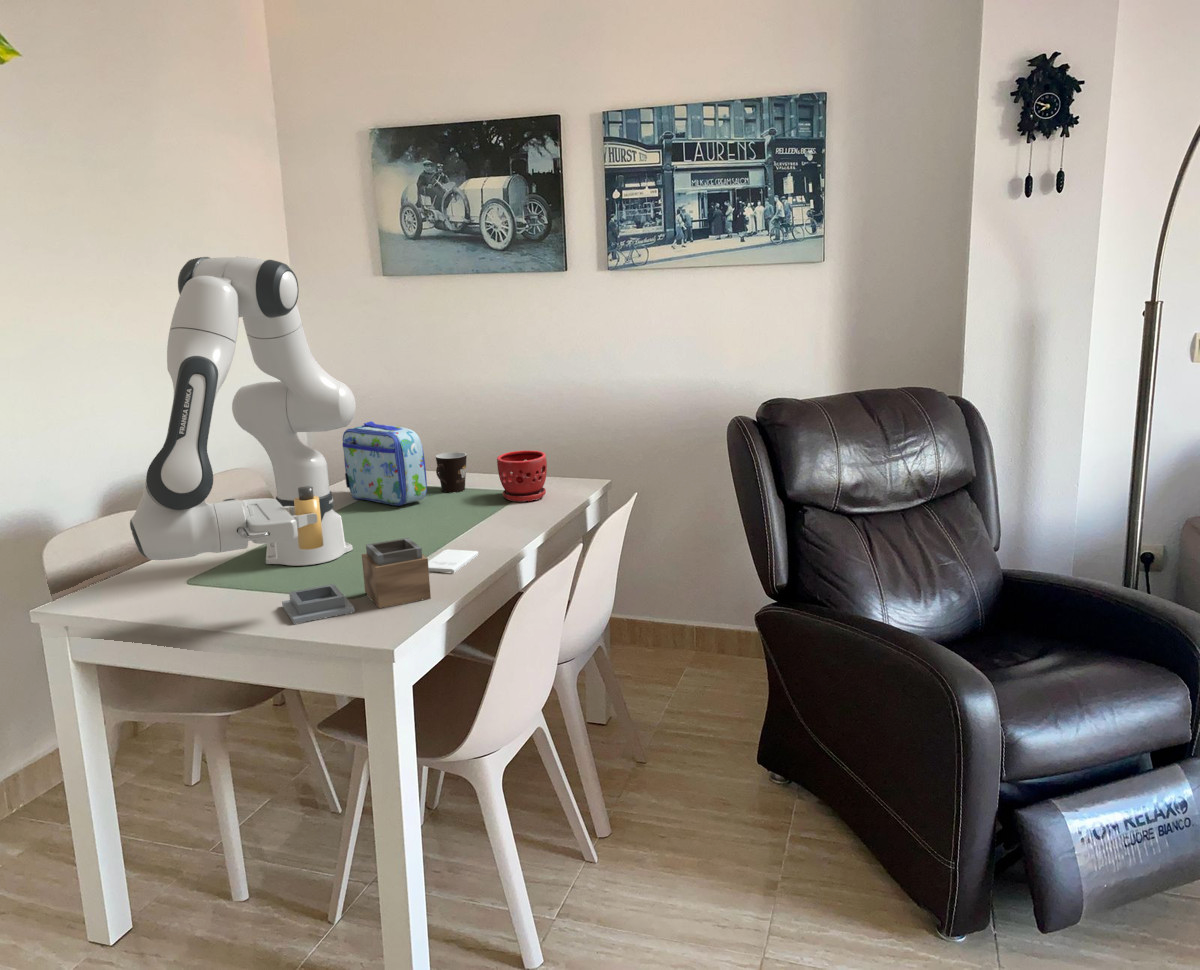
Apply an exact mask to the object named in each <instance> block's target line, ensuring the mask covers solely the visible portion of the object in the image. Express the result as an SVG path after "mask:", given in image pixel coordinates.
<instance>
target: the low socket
mask: <svg viewBox="0 0 1200 970" xmlns="http://www.w3.org/2000/svg"><path fill="white" fill-rule="evenodd" d="M288 593H289V594H288V595H289V599H286V600H282V601H281V603H282V605H281V607H282V606H283V607H282V608H283V609H285V610H284V611H285V612H287V613H286V614H287V616H288V615H289V616H288V617H289V619H290V618H291V619H290V621H291V622H292V624H293V623H294V624H293V625H297V624H296V623H299V624H302V623H301V622H304V623H306V622H305V621H309V622H311V621H310V620H314V621H316V620H315V619H319V620H321V619H320V618H325V617H330V618H332V617H331V616H335V617H337V616H336V615H340V616H342V615H341V614H345V615H347V614H346V613H350V614H352V613H351V612H355V610H356V609H355V606H354V605H353V604H352V603H351V602H350V600H349V599H348V598H347V597H346V596H345V595H344V593H343V592H342V591H341V590H340V589H339V588H338V586H336V585H335V584H334V583H331V584H327V585H321V586H315V587H311V588H310V587H309V588H304V589H298V590H293V591H292V590H291V591H289V592H288ZM355 613H356V612H355ZM325 619H326V618H325Z"/></svg>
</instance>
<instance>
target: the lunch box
mask: <svg viewBox="0 0 1200 970" xmlns="http://www.w3.org/2000/svg"><path fill="white" fill-rule="evenodd" d="M342 449H343V458H344V459H343V460H344V469H345V474H344V476H345V477H344V478H345V486H346V488H348V489H349V491H350V494H351V496H352V498H353V499H355V500H364V501H370V502H375V503H380V504H385V505H391V506H398V507H399V506H403V505H407V504H410V503H413V502H416V501H421V500H424V498H425V497H426V496H427V491H428V490H427V489H428V482H427V481H428V480H427V471H426V470H427V469H426V461H425V453H424V447H423V444H422V441H421V438H420V437H419V434H417V432H415V431H414V430H413V429H410V428H407V427H402V426H396V425H389V424H379V423H377V424H376V423H375V422H374V421H368V422H367V421H366V422H364V423H363V425H361V426H355V427H353V428H347V429H346V430H345V431H344V432H343V434H342Z"/></svg>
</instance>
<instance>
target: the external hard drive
mask: <svg viewBox="0 0 1200 970" xmlns="http://www.w3.org/2000/svg"><path fill="white" fill-rule="evenodd" d="M478 555H479V551H477V550H464V549H461V550H460V549H447V548H446V549H443V551H441V552H439V553H438V554H437V555H435V556H434V557H432V558H431V559H429V560H428V569H429V571H438V572H437V573H439V572H451V573H455V572H456V571H457V570H459V569H460V568H461V567H463V566H464V565H465V566H467V565H468V564H469V563H471V562H472V561H473V560H472V559H474V558H475V557H476V556H478ZM478 557H479V556H478ZM476 558H477V557H476ZM476 558H475V559H476ZM475 559H474V560H475ZM471 560H472V561H471ZM470 561H471V562H470ZM468 562H469V563H468ZM467 563H468V564H467ZM466 564H467V565H466ZM465 566H464V567H465ZM464 567H463V568H464ZM461 569H462V568H461ZM461 569H460V570H461ZM460 570H459V571H460ZM457 572H458V571H457ZM457 572H456V573H457ZM451 573H450V574H451ZM456 573H455V574H456Z"/></svg>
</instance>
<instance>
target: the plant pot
mask: <svg viewBox="0 0 1200 970" xmlns="http://www.w3.org/2000/svg"><path fill="white" fill-rule="evenodd" d="M496 464H497V472H498V476H499V477H498V478H499V480H500V483H501V486H502V488H503V489H504V490H503V491H502V495H503V497H504V498H505V499H506V500H508V501H511V502H515V501H516V503H525V502H526V501H528V502H533V500H536V501H537V500H539V499H541V498H543V497H544V496H545V495H546V492H547V489H546V488H545V487H544V486H545V483H546V480H547V473H548V472H547V469H548V468H547V467H548V465H547V455H546V453H545V452H543V451H541V450H527V449H526V450H517V451H516V450H514V451H509V452H506V453H501V454H500V455H498V456H497V457H496Z"/></svg>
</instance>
